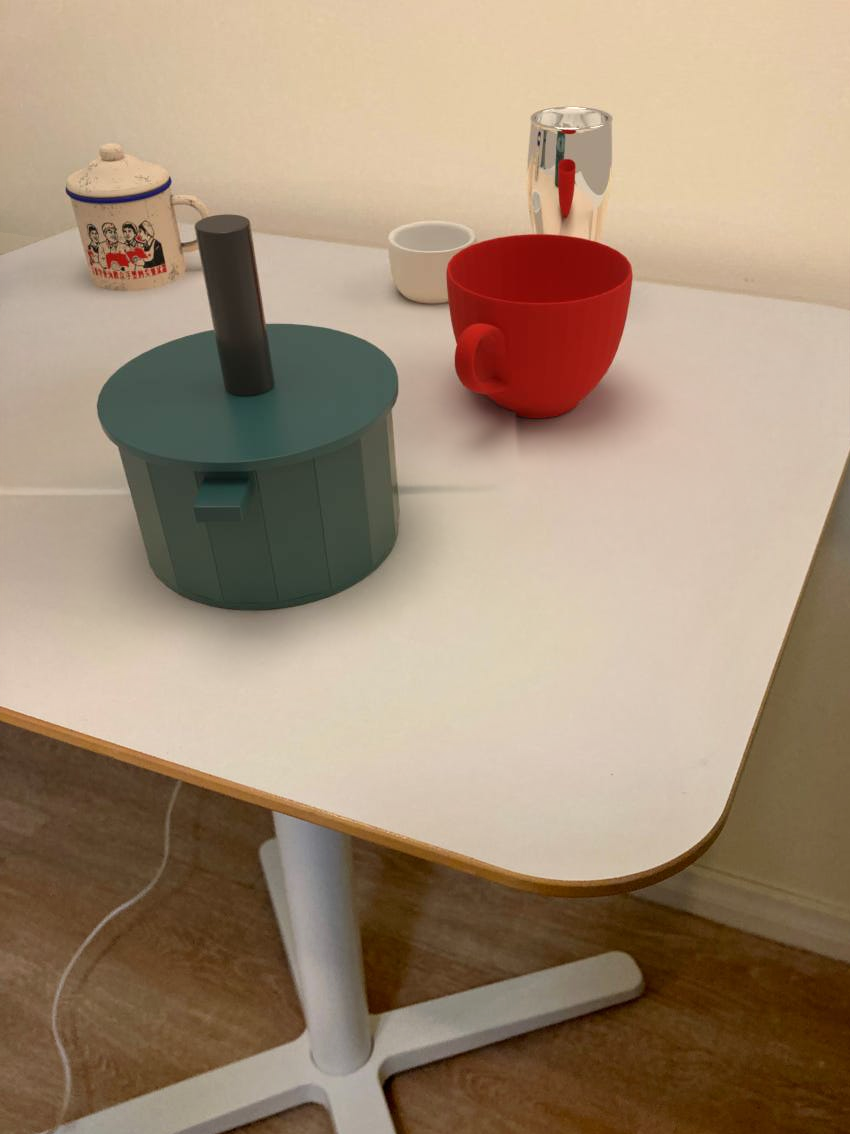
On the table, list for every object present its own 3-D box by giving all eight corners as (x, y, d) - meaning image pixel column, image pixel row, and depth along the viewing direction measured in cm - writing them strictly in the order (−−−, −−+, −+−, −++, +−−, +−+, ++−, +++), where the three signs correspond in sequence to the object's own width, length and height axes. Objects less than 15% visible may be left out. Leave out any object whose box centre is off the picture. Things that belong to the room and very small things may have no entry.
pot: (104, 641, 58) (56, 495, 51) (188, 448, 73) (160, 319, 67) (384, 640, 57) (370, 494, 51) (408, 446, 73) (400, 317, 67)
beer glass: (613, 292, 94) (627, 110, 84) (586, 321, 89) (597, 132, 79) (542, 280, 96) (547, 102, 86) (512, 308, 91) (513, 123, 81)
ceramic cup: (386, 436, 74) (375, 301, 68) (504, 346, 85) (504, 222, 79) (546, 484, 69) (551, 343, 63) (650, 382, 80) (663, 252, 74)
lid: (61, 483, 53) (-1, 289, 47) (145, 342, 66) (105, 173, 59) (387, 481, 53) (371, 286, 46) (408, 340, 66) (398, 170, 59)
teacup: (491, 305, 92) (490, 243, 88) (409, 320, 89) (406, 258, 86) (448, 266, 99) (446, 208, 95) (372, 280, 96) (367, 220, 93)
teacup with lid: (80, 299, 94) (44, 163, 86) (100, 262, 101) (68, 133, 93) (214, 294, 94) (190, 158, 87) (225, 257, 101) (203, 128, 94)
